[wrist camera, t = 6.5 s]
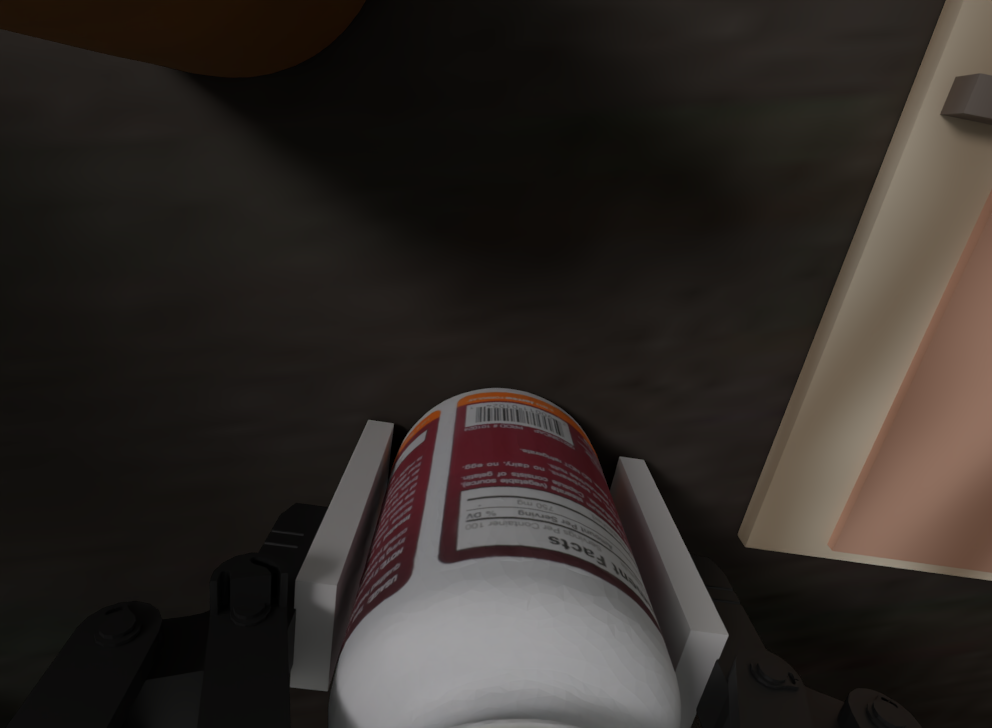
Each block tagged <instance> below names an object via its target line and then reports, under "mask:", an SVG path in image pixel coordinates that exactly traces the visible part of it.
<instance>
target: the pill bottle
mask: <svg viewBox="0 0 992 728" xmlns="http://www.w3.org/2000/svg"><path fill="white" fill-rule="evenodd" d="M680 724H681V701H680V692H679V687H678V682H677V677H676V674H675V671H674V668H673V665H672V662H671V659H670V656H669V653H668V650H667V647H666V644H665V641H664V637H663V635H662V632H661V630H660V627H659V624H658V621H657V619H656V616H655V614H654V611H653V609H652V606H651V603H650V600H649V597H648V595H647V592H646V589H645V587H644V584H643V581H642V578H641V576H640V573H639V570H638V567H637V565H636V562H635V559H634V557H633V554H632V551H631V547H630V545H629V542H628V540H627V537H626V534H625V532H624V529H623V526H622V523H621V521H620V518H619V516H618V513H617V510H616V507H615V504H614V501H613V499H612V496H611V493H610V491H609V488H608V485H607V482H606V480H605V477H604V474H603V471H602V468H601V466H600V463H599V460H598V457H597V455H596V452H595V450H594V448H593V446H592V445H591V443H590V441H589V439H588V437H587V435H586V434H585V432H584V431H583V429H582V428H581V427H580V425H579V424H578V423H577V422H576V421H575V420H574V419H573V418H572V417H571V416H570V415H569V414H568V413H566V412H565V411H564V410H563V409H561V408H560V407H558V406H557V405H555V404H554V403H552V402H550V401H548V400H546V399H544V398H542V397H540V396H537V395H534V394H531V393H528V392H524V391H520V390H515V389H507V388H486V389H480V390H474V391H470V392H466V393H463V394H460V395H457V396H454V397H452V398H450V399H447V400H445V401H443V402H442V403H440V404H438V405H437V406H435V407H434V408H432V409H431V410H430V411H428V412H427V413H426V414H425V415H424V416H423V417H422V418H421V419H420V420H419V421H418V422H417V423H416V424H415V425H414V426H413V427H412V428H411V430H410V431H409V432H408V434H407V435H406V437H405V439H404V440H403V442H402V444H401V446H400V448H399V450H398V453H397V456H396V458H395V460H394V463H393V466H392V469H391V473H390V477H389V481H388V485H387V488H386V492H385V496H384V499H383V503H382V506H381V510H380V514H379V517H378V521H377V525H376V528H375V532H374V535H373V539H372V542H371V546H370V550H369V553H368V557H367V561H366V564H365V568H364V571H363V574H362V577H361V580H360V584H359V589H358V592H357V595H356V599H355V603H354V606H353V610H352V613H351V616H350V620H349V623H348V627H347V630H346V634H345V637H344V641H343V644H342V647H341V650H340V655H339V659H338V662H337V665H336V670H335V675H334V679H333V683H332V688H331V692H330V698H329V706H328V728H680Z"/></svg>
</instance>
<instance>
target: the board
mask: <svg viewBox="0 0 992 728" xmlns="http://www.w3.org/2000/svg"><path fill="white" fill-rule="evenodd" d="M737 535H738V537H739V538H740V540H741V541H742V543H743V544H744V546H745V547H748V548H756V549H763V550H770V551H778V552H785V553H792V554H800V555H807V556H814V557H822V558H829V559H837V560H844V561H851V562H859V563H866V564H873V565H881V566H888V567H895V568H903V569H910V570H918V571H925V572H932V573H940V574H947V575H954V576H962V577H969V578H976V579H984V580H991V581H992V0H946V2H945V4H944V7H943V9H942V12H941V14H940V17H939V20H938V22H937V25H936V27H935V30H934V32H933V35H932V38H931V40H930V43H929V45H928V48H927V50H926V53H925V55H924V58H923V61H922V63H921V66H920V68H919V71H918V73H917V76H916V78H915V81H914V84H913V86H912V89H911V91H910V94H909V96H908V99H907V102H906V104H905V107H904V109H903V112H902V114H901V117H900V119H899V122H898V125H897V127H896V130H895V132H894V135H893V137H892V140H891V143H890V145H889V148H888V150H887V153H886V155H885V158H884V160H883V163H882V166H881V168H880V171H879V173H878V176H877V178H876V181H875V183H874V186H873V189H872V191H871V194H870V196H869V199H868V201H867V204H866V207H865V209H864V212H863V214H862V217H861V219H860V222H859V224H858V227H857V230H856V232H855V235H854V237H853V240H852V242H851V245H850V248H849V250H848V253H847V255H846V258H845V260H844V263H843V265H842V268H841V271H840V273H839V276H838V278H837V281H836V283H835V286H834V288H833V291H832V294H831V296H830V299H829V301H828V304H827V306H826V309H825V312H824V314H823V317H822V319H821V322H820V324H819V327H818V329H817V332H816V335H815V337H814V340H813V342H812V345H811V347H810V350H809V352H808V355H807V358H806V360H805V363H804V365H803V368H802V370H801V373H800V376H799V378H798V381H797V383H796V386H795V388H794V391H793V393H792V396H791V399H790V401H789V404H788V406H787V409H786V411H785V414H784V417H783V419H782V422H781V424H780V427H779V429H778V432H777V434H776V437H775V440H774V442H773V445H772V447H771V450H770V452H769V455H768V457H767V460H766V463H765V465H764V468H763V470H762V473H761V475H760V478H759V481H758V483H757V486H756V488H755V491H754V493H753V496H752V498H751V501H750V504H749V506H748V509H747V511H746V514H745V516H744V519H743V522H742V524H741V527H740V529H739V532H738V534H737Z"/></svg>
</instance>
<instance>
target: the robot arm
mask: <svg viewBox="0 0 992 728" xmlns="http://www.w3.org/2000/svg"><path fill="white" fill-rule="evenodd" d="M393 429H394V423H387V422H381V421H374V420H368V421H367V424H366V426H365V428H364V430H363V432H362V435H361V437H360V439H359V441H358V443H357V446H356V448H355V450H354V452H353V454H352V457H351V459H350V461H349V463H348V465H347V468H346V470H345V472H344V474H343V476H342V479H341V481H340V483H339V485H338V488H337V490H336V492H335V494H334V496H333V499H332V501H331V503H330V505H329V507H322V506H315V505H307V504H300V503H296V504H294V505H293V506H292V507H290V508H289V509H287V510H286V511H285V512H283V513H282V514H281V515H280V516H279V518H278V520H277V521H276V523H275V525H274V527H273V528H272V531H271V532H270V534H269V535H268V537H267V539H266V541H265V544H264V545H263V546H262V547H261V549H260V551H259V553H248V554H243V555H238V556H235V557H233V558H231V559H229V560H227V561H225V562H223V563H222V564H221V565H220V566H219V567H218V568H217V569H216V570H215V571H214V573H213V575H212V577H211V580H210V611H207V612H205V613H202V614H197V615H192V616H187V617H179V618H171V619H164V620H162V618H161V615H160V612H159V610H158V609H156V608H155V607H154V606H152V605H151V604H148V603H143V602H138V601H132V602H121V603H117V604H114V605H111V606H108V607H105V608H102V609H101V610H99V611H97V612H96V613H94V614H92V615H91V616H89V617H87V618H86V619H85V620H84V621H83V622H82V623H81V624H80V625H79V626H78V627H77V628H76V630H75V631H74V633H73V634H72V635H71V637H70V638H69V640H68V641H67V643H66V644H65V645H64V647H63V648H62V650H61V651H60V652H59V654H58V655H57V657H56V658H55V659H54V661H53V662H52V664H51V665H50V666H49V668H48V669H47V671H46V672H45V673H44V675H43V676H42V678H41V679H40V680H39V682H38V683H37V685H36V686H35V687H34V689H33V690H32V692H31V693H30V694H29V696H28V697H27V699H26V700H25V701H24V703H23V704H22V706H21V707H20V708H19V710H18V711H17V713H16V714H15V715H14V717H13V718H12V720H11V721H10V722H9V724H8V725H7V727H6V728H291V726H290V694H289V674H290V671H291V675H290V687H293V688H302V689H311V690H319V691H328V689H329V686H330V682H331V679H332V676H333V672H334V669H335V666H336V663H337V659H338V656H339V653H340V649H341V646H342V643H343V639H344V636H345V633H346V629H347V626H348V623H349V619H350V616H351V613H352V609H353V606H354V603H355V599H356V595H357V592H358V589H359V584H360V580H361V577H362V574H363V571H364V568H365V564H366V561H367V557H368V553H369V550H370V546H371V542H372V539H373V535H374V532H375V528H376V525H377V521H378V517H379V514H380V510H381V506H382V503H383V499H384V496H385V492H386V488H387V481H388V472H389V463H390V455H391V446H392V437H393ZM610 493H611V496H612V499H613V501H614V504H615V507H616V510H617V513H618V516H619V518H620V521H621V523H622V526H623V529H624V532H625V534H626V537H627V540H628V542H629V545H630V547H631V551H632V554H633V557H634V559H635V562H636V565H637V567H638V570H639V573H640V576H641V578H642V581H643V584H644V587H645V589H646V592H647V595H648V597H649V600H650V603H651V606H652V609H653V611H654V614H655V616H656V619H657V621H658V624H659V627H660V630H661V632H662V635H663V637H664V641H665V644H666V647H667V650H668V653H669V656H670V659H671V662H672V665H673V668H674V671H675V674H676V677H677V682H678V687H679V692H680V701H681V724H680V728H691V725H692V723H693V720H694V718H695V716H696V713H697V714H698V717H699V720H700V723H701V725H702V728H922V727H921V725H920V724H919V723H918V722H917V720H916V719H915V718H914V717H913V716H912V714H911V713H910V712H908V711H907V710H906V709H905V708H904V707H902V706H901V705H900V704H899V703H898V702H896V701H894V700H893V699H891V698H889V697H888V696H886V695H884V694H883V693H880V692H877V691H874V690H871V689H866V688H857V689H855V690H853V691H851V692H850V693H849V695H848V697H847V699H846V700H845V702H843V701H840V700H838V699H835V698H833V697H830V696H827V695H825V694H822V693H820V692H817V691H815V690H812V689H810V688H808V687H806V686H804V685H803V682H802V680H801V678H800V676H799V675H798V674H797V673H796V671H795V670H794V669H793V668H792V666H790V665H789V664H788V663H787V662H785V661H784V660H783V659H782V658H780V657H779V656H777V655H775V654H773V653H771V652H769V651H767V650H766V649H765V647H764V645H763V643H762V641H761V639H760V638H759V636H758V634H757V632H756V630H755V628H754V627H753V625H752V623H751V621H750V619H749V617H748V616H747V614H746V612H745V610H744V608H743V606H742V605H740V601H739V599H738V597H737V595H736V593H735V592H733V588H732V586H731V584H730V582H729V581H728V579H727V577H726V575H725V573H724V572H723V571H722V570H721V569H720V568H719V567H718V566H717V565H716V564H715V563H714V562H713V561H712V560H711V559H710V558H709V557H702V556H695V555H690V554H689V552H688V550H687V548H686V546H685V544H684V542H683V540H682V538H681V536H680V533H679V531H678V529H677V527H676V525H675V523H674V521H673V519H672V517H671V515H670V513H669V511H668V509H667V507H666V505H665V503H664V500H663V498H662V496H661V494H660V492H659V490H658V488H657V486H656V484H655V482H654V480H653V478H652V476H651V474H650V472H649V470H648V467H647V465H646V463H645V461H644V460H641V459H634V458H627V457H620V456H619V460H618V463H617V467H616V471H615V474H614V478H613V481H612V485H611V488H610Z"/></svg>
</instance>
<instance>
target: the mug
mask: <svg viewBox="0 0 992 728" xmlns="http://www.w3.org/2000/svg"><path fill="white" fill-rule="evenodd" d="M365 1H366V0H0V29H3V30H8V31H12V32H16V33H20V34H24V35H28V36H33V37H37V38H41V39H45V40H49V41H54V42H58V43H62V44H66V45H70V46H74V47H79V48H83V49H87V50H91V51H95V52H99V53H104V54H108V55H113V56H117V57H122V58H127V59H132V60H137V61H142V62H147V63H151V64H156V65H160V66H164V67H168V68H172V69H177V70H181V71H185V72H189V73H195V74H201V75H209V76H217V77H227V78H235V77H255V76H261V75H267V74H272V73H275V72H278V71H281V70H284V69H287V68H290V67H293V66H296V65H298V64H300V63H302V62H303V61H305V60H307V59H309V58H311V57H313V56H315V55H316V54H317V53H319V52H320V51H322V50H323V49H324V48H326V47H327V46H329V45H330V44H331V43H332V42H333V41H334V40H335V39H336V38H337V37H338V36H339V35H340V34H341V33H343V32H344V31H345V30H346V28H347V27H348V26H349V25H350V23H351V22H352V21H353V19H354V18H355V17H356V15H357V14H358V13H359V12H360V10H361V8H362V6H363V5H364V3H365Z"/></svg>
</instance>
